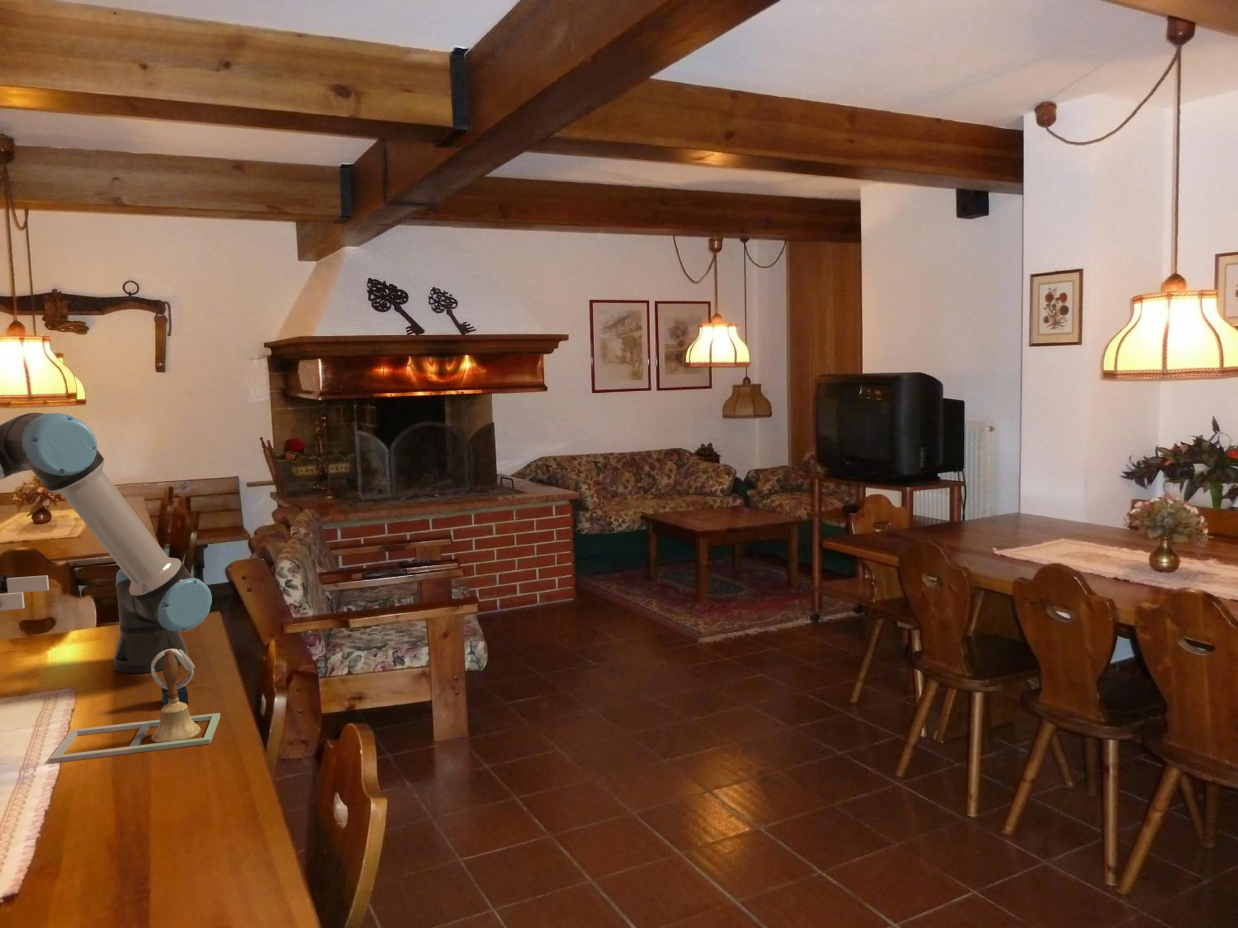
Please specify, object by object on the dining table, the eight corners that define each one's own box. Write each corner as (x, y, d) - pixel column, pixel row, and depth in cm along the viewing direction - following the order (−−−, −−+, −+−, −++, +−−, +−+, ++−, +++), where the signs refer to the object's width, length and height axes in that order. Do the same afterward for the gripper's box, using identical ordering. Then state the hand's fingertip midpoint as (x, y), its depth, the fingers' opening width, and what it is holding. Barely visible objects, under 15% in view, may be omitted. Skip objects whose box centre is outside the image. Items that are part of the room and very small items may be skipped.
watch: (198, 702, 188) (195, 649, 187) (154, 711, 184) (150, 657, 182) (195, 694, 193) (191, 643, 191) (152, 702, 188) (148, 649, 187)
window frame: (72, 733, 173) (71, 729, 173) (220, 716, 180) (220, 712, 180) (49, 763, 160) (49, 758, 160) (210, 743, 167) (210, 739, 167)
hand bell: (181, 744, 167) (175, 658, 165) (140, 742, 169) (134, 656, 167) (210, 727, 175) (204, 644, 173) (171, 724, 177) (164, 643, 175)
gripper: (-70, 605, 173) (58, 595, 179) (-137, 643, 149) (13, 630, 155) (-74, 565, 172) (55, 557, 178) (-142, 597, 148) (9, 586, 154)
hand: (36, 591), depth 167 cm, fingers open, 13 cm apart
